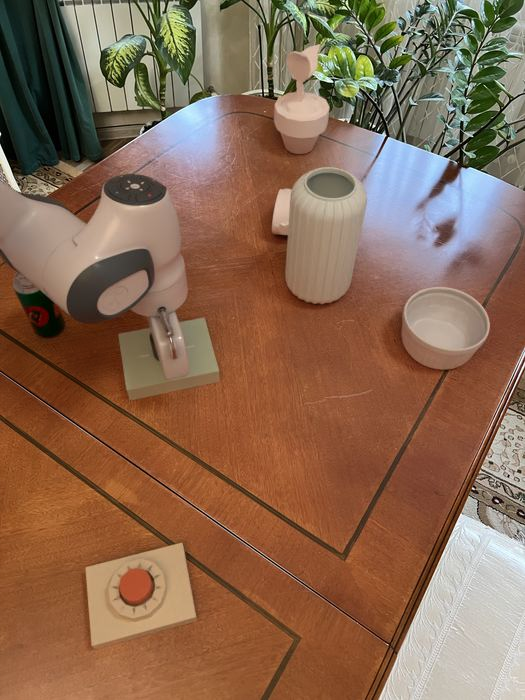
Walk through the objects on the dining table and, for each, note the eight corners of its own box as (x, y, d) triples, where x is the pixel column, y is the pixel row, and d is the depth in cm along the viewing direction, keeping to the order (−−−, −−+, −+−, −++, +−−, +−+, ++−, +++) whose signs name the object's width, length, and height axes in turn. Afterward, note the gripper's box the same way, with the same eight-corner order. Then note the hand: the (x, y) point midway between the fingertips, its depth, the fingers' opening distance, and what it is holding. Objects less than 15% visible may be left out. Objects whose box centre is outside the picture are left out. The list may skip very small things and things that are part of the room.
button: (123, 608, 66) (121, 604, 64) (120, 576, 68) (117, 572, 66) (155, 599, 66) (152, 595, 65) (150, 568, 68) (148, 564, 67)
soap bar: (320, 251, 107) (324, 218, 101) (271, 244, 108) (272, 210, 102) (328, 211, 114) (333, 177, 108) (282, 204, 115) (284, 170, 109)
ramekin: (386, 361, 92) (395, 334, 86) (405, 304, 99) (414, 276, 94) (469, 387, 89) (483, 361, 84) (482, 327, 97) (496, 299, 91)
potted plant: (308, 169, 123) (319, 50, 103) (263, 151, 126) (265, 32, 106) (336, 141, 129) (352, 24, 109) (292, 124, 133) (299, 8, 113)
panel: (129, 400, 87) (126, 389, 84) (121, 345, 93) (117, 333, 91) (219, 381, 89) (219, 370, 87) (205, 328, 96) (204, 316, 93)
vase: (339, 319, 97) (358, 215, 80) (275, 301, 100) (280, 196, 82) (356, 274, 104) (377, 169, 86) (296, 258, 106) (305, 152, 88)
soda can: (70, 331, 95) (50, 280, 85) (41, 344, 93) (17, 294, 83) (58, 312, 97) (37, 260, 88) (30, 324, 95) (5, 273, 86)
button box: (95, 649, 66) (87, 643, 63) (89, 572, 72) (81, 562, 68) (197, 621, 68) (194, 613, 65) (184, 547, 74) (181, 537, 70)
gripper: (197, 335, 72) (204, 395, 83) (160, 231, 83) (171, 296, 94) (147, 348, 70) (161, 407, 81) (117, 240, 82) (133, 305, 93)
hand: (166, 347), depth 88 cm, fingers closed on knob, 4 cm apart
